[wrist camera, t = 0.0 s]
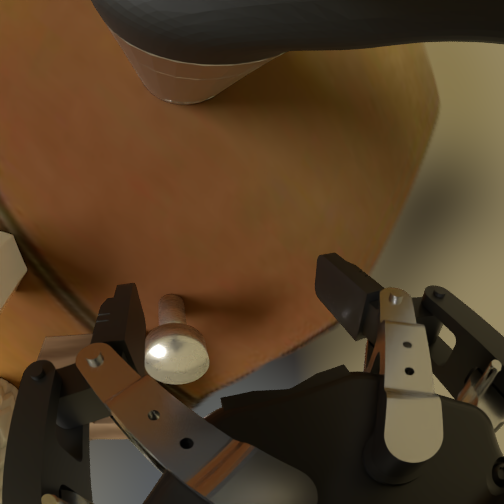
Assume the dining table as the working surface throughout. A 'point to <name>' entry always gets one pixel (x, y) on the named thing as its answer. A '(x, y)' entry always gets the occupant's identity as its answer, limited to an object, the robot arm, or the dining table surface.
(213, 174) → the dining table surface
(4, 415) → the vase
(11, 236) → the jar
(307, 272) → the dining table surface
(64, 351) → the pin block
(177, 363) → the pin
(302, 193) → the dining table surface
